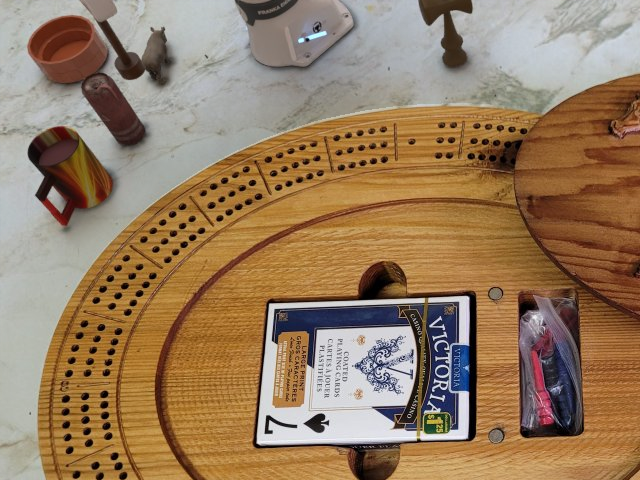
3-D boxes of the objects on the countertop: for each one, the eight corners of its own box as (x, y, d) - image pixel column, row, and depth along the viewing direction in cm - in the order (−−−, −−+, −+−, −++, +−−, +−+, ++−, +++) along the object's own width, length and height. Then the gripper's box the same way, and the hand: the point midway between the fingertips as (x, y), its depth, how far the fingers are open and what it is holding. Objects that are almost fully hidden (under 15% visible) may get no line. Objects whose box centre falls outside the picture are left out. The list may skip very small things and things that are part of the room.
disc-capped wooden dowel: (138, 58, 148) (90, -20, 134) (149, 71, 146) (102, -7, 132) (116, 71, 147) (66, -7, 133) (127, 84, 146) (78, 7, 131)
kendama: (482, 62, 167) (470, -24, 150) (437, 77, 167) (420, -8, 149) (472, 43, 170) (459, -44, 152) (428, 58, 169) (410, -29, 151)
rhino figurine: (178, 38, 178) (166, 14, 173) (167, 84, 172) (154, 62, 166) (160, 39, 178) (147, 16, 173) (148, 86, 172) (134, 63, 167)
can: (140, 148, 164) (104, 96, 152) (112, 145, 165) (73, 92, 153) (152, 125, 167) (117, 72, 154) (124, 122, 168) (87, 69, 155)
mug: (65, 231, 156) (27, 190, 146) (63, 177, 163) (27, 134, 152) (115, 217, 157) (81, 175, 146) (111, 164, 163) (78, 120, 152)
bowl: (91, 28, 182) (76, 5, 176) (120, 61, 176) (106, 38, 171) (33, 61, 178) (16, 38, 173) (61, 96, 173) (44, 74, 167)
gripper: (99, -42, 120) (144, 36, 133) (41, -104, 128) (89, -25, 141) (60, -21, 119) (109, 55, 131) (4, -85, 127) (56, -7, 139)
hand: (98, 13), depth 136 cm, fingers closed on disc-capped wooden dowel, 2 cm apart
